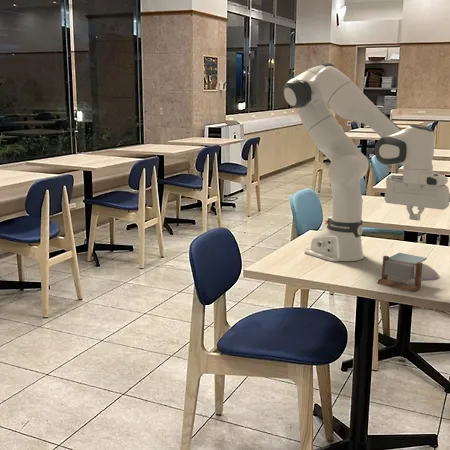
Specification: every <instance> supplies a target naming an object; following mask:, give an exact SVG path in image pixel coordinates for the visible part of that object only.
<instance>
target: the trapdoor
mask: <svg viewBox="0 0 450 450" xmlns="http://www.w3.org/2000/svg"><path fill="white" fill-rule="evenodd" d="M426 260H427V257H423V256H418V255H414V254H408V253H403V252H397V253H396V254H393V255H391V256H389V258H388V260H387V261H385V273H384V275H388V276H390V277H394V278H398V279H403V280H407V281H411V280H412V279H414V278H413V277H414V265H416V263H418V262H419V263H423V262H424V261H426Z"/></svg>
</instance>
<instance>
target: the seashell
mask: <svg viewBox="0 0 450 450" xmlns="http://www.w3.org/2000/svg"><path fill="white" fill-rule="evenodd" d="M415 274H416V265H414V277H413V279H415ZM439 278H440V275H439V274H438V272H437V271H436V270H435V269H434V268H433V267H431V266H429V265H428V264H426V263H423V264H422V275H421V281H434V280H437V279H439Z"/></svg>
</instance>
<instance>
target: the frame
mask: <svg viewBox="0 0 450 450" xmlns="http://www.w3.org/2000/svg"><path fill="white" fill-rule="evenodd" d="M389 257H390V256H388V255H384V256H383V257H382V270H381V278H379V279H377V284H379V285H383V286H386V285H387V287H390V288H395V287H396V288H395V289H400V290H404V291H408V292H412V293H416V292H417V291H419V290H421V285H422V280H421V275H422V264H424V263H423V262H421V263H419V262H418V263H416V274H415V278H414V284H410V283H405V282H401V281H396V280H392V279H388V276H389V275H384V273H385V261H387V260H388V258H389Z"/></svg>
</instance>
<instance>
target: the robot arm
mask: <svg viewBox="0 0 450 450" xmlns="http://www.w3.org/2000/svg"><path fill="white" fill-rule="evenodd" d="M282 95H283V98H284V100H285V102H286V104H287V105H288V106H290V107H291V108H293V109H297V110H296V111H297V114H298V116H299V119H300V121H301V122H302V125H303V126H304V128H305V131H306V132H307V133H308V135H309V136H310V138H311V141H313V143H314V145H315V146H316V147H317V149H318V150H319V151H320V152H321V153H323V155H324V156H325V157H327V159H328V160H329V161H330V163H329V166H328V168H327V176H328V178H329V182H330V191H331V216H330V217H331V218H328V219H327V220H325V221H324V225H327V226H326V228H324V229H323V230H320V231H319V232H318V233H317V234H315V235H314V236H313V237H312V239H311V241H310V246H308V247H306V248H304V254H306V255H310V256H313V257H316V258H320V259H323V260H326V261H329V262H333V263H335V262H355V261H356V262H357V261H360V260H362V259H364V258H365V256H364V255H365V254H364V251H363V246H362V234H363V227H364V226H363V223H364V221H363V219H362V216H363V202H364V199H363V197H362V190H361V179H363V178H364V177H365V176H366V175H367V172H368V170H369V166H370V165H369V164H370V163H369V159H368V157H367V156H366V155H364V153H362V151H361V150H360V149H359V147H358V146H357V145H356V144H355V143H354V142H353V140H352V139H351V138H350V137H349V136H348V134H346V132H345V131H344V129H343V128H342V126H341V125H340V123H339V122H338V120H337V118H336V117H335V115H334V114H333V113H332V111H333V112H334V113H335V114H336V115H338V116H339V117H340V118H341V119H344V120H348V121H353V122H358V123H361V124H364V125H366V126H368V127H369V128H370V129H372V131H373V132H375V133H376V134H377V135H378V137H380V138H379V139H378V140H377V141H376V143H375V146H374V149H373V150H374V156H375V158H376V160H377V161H378V162H379V163H381V164H382V165H387V166H393V165H399V164H402V165H403V169H402V175H395V174H391V175H389V176H387V177H386V180H385V185H386V186H385V191H384V201H385V203H386V204H390V205H391V204H392V205H401V206H406V211H407V214H409V217H408V218H409V219H408V220H410V221H417V222H418V221H421V215H422V214H423V213H424V211H425V209H435V210H442V211H443V210H447V208H448V207H449V206H450V189H449V186H448V185H446V184H448V182H449V179H448V177H447V176H444V175H443V174H440V173H438V172H435V171H433V170H434V166H433V157H434V156H435V155H434V154H435V134H434V130H432V128H430V127H429V126H427V125H421V124H409V125H408V126H407V127H405V128H404V129H402V128H401V127H399V126H398V125H397V124H396V123H395V122H394V121H393V120H392V119H390V117H388V116H387V115H386V114H385V113H384V112H383V111H382V110H381V109H379V107H377V106H376V105H375V104H374V103H373V102H372V101H371V99H369V98H368V96H367V95H365V94H364V92H363V91H362V90H361V89H360V88H359V87H358V86H357V85H356V84H355V83H354V82H353V80H351V79H350V78H349V77H348V76H347V75H346V74H345V73H344V72H342V71H341V70H340V69H338V68H337V67H336V65H334V64H333V63H330V62H323V63H320V64H318V65H317V66H314V67H311V68H308V69H306V70H304V71H303V72H302V73H299V74H298V75H296V76H295V77H294V78H290V79H289V80H288V81H287V82H286V83H285V84H284V85H283V89H282ZM329 108H330V109H331V110H332V111H331V110H330V109H329ZM414 207H416V208H417V211H418V212H417V213H414V211H413V209H414Z"/></svg>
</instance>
